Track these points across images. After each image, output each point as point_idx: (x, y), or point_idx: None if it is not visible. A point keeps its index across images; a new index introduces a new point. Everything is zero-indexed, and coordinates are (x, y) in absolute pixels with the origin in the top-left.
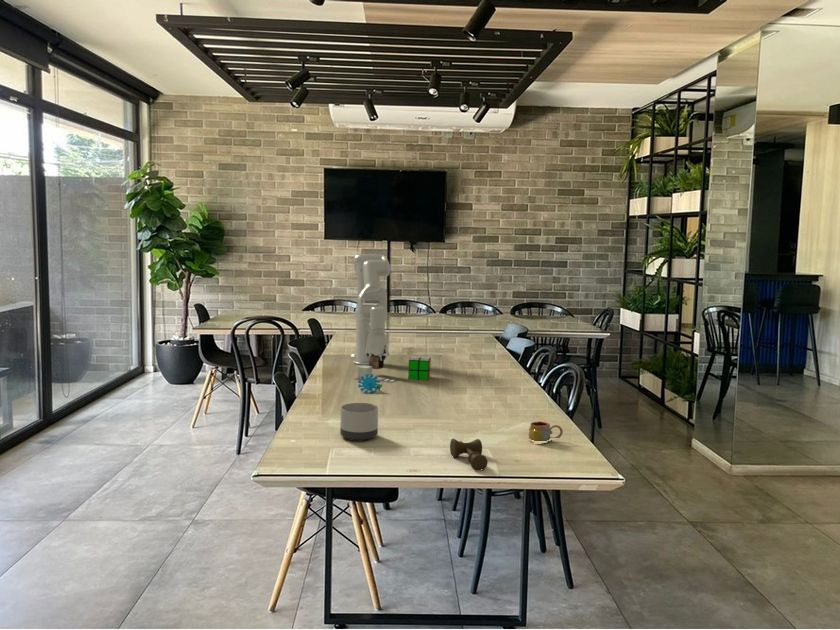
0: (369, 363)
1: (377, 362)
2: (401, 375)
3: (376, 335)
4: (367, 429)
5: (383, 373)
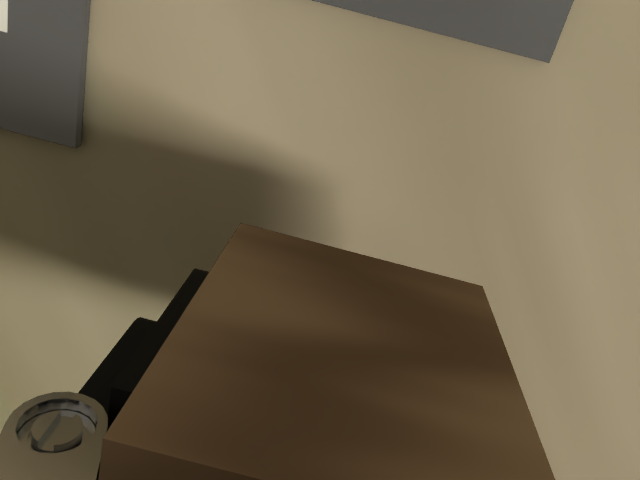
0: (506, 355)
1: (194, 313)
2: None
3: None
4: None
5: None
